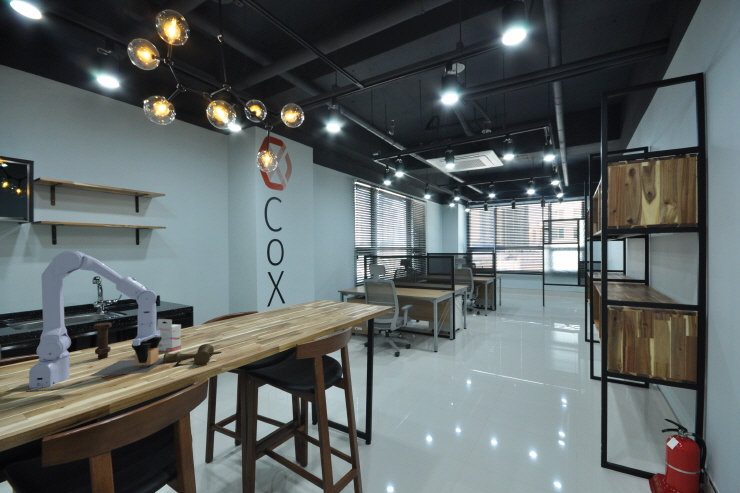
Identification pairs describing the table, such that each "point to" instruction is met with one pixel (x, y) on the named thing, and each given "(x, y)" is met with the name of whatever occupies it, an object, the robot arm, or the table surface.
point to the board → (127, 368)
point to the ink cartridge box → (169, 335)
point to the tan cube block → (150, 359)
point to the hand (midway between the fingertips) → (147, 360)
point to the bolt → (102, 340)
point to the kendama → (192, 355)
